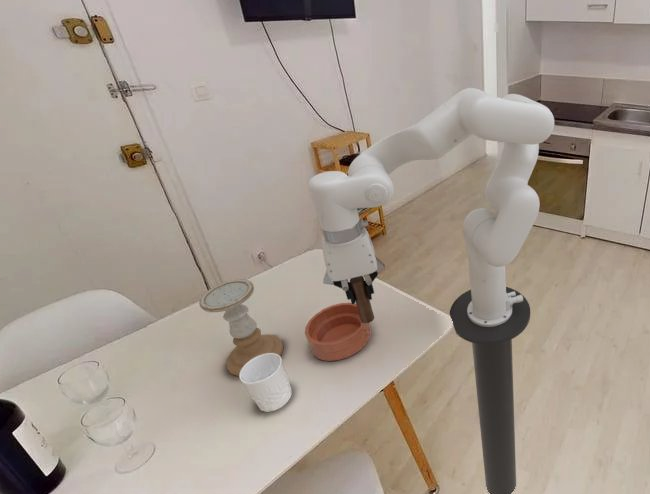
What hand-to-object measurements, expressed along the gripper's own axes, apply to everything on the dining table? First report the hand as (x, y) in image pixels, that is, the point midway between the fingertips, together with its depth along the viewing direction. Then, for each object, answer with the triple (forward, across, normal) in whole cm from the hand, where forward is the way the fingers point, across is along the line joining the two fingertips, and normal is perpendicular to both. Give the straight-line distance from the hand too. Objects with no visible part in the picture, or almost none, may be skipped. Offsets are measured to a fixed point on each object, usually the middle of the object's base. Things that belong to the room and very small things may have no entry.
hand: (361, 297), depth 93 cm
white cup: (+17, +22, +6) cm, 29 cm away
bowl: (+17, +8, -7) cm, 20 cm away
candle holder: (+17, +28, -9) cm, 34 cm away
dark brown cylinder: (+7, 0, 0) cm, 7 cm away
